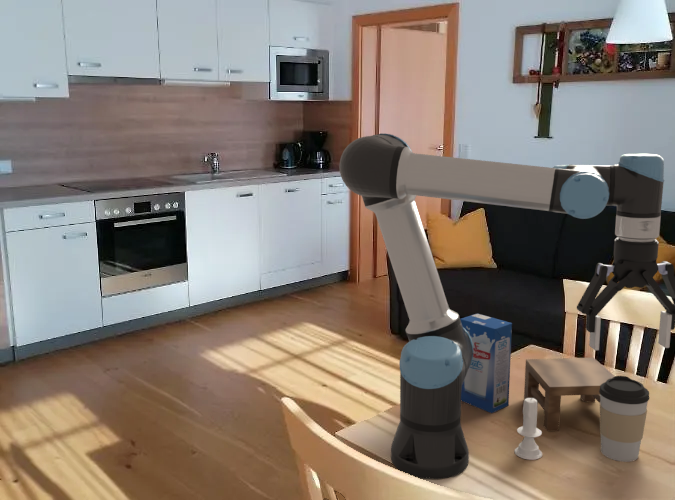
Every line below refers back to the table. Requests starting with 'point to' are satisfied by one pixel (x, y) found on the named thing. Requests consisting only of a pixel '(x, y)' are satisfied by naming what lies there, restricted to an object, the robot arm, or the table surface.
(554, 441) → the table surface
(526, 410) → the candle
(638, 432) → the coffee cup
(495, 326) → the milk carton
